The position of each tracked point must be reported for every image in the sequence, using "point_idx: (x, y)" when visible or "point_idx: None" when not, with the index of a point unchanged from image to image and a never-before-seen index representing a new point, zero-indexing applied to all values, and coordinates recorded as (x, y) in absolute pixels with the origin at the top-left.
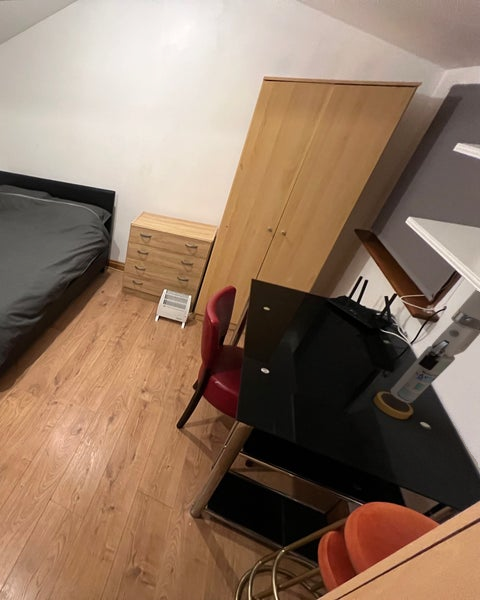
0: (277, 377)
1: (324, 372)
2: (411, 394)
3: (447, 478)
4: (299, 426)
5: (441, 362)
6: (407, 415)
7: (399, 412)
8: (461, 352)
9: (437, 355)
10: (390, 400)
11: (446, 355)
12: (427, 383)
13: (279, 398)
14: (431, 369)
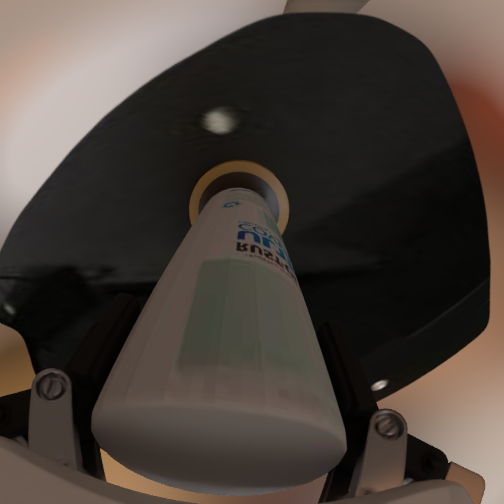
0: (382, 370)
1: None
2: (272, 215)
3: (383, 52)
4: (471, 285)
5: (327, 386)
6: (261, 166)
7: (279, 186)
8: (56, 480)
9: (443, 469)
10: None
11: (214, 451)
12: (268, 229)
13: (434, 336)
14: (335, 327)
